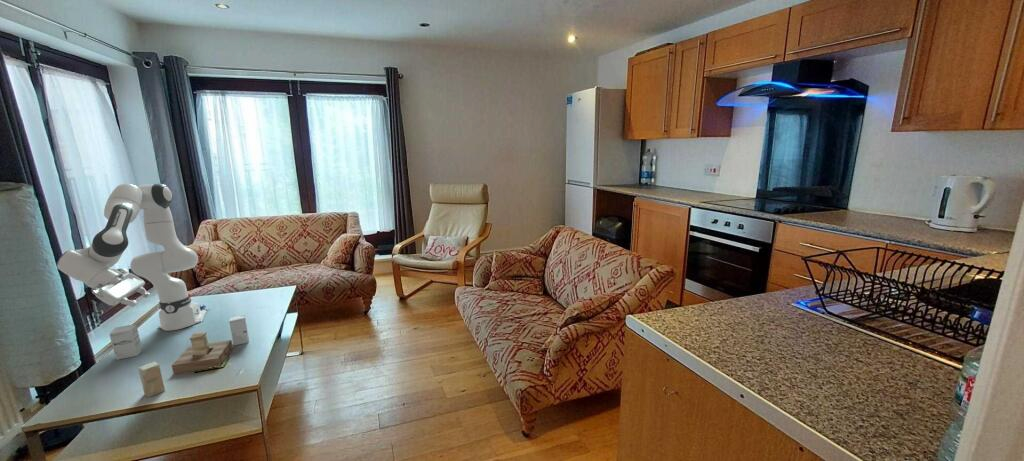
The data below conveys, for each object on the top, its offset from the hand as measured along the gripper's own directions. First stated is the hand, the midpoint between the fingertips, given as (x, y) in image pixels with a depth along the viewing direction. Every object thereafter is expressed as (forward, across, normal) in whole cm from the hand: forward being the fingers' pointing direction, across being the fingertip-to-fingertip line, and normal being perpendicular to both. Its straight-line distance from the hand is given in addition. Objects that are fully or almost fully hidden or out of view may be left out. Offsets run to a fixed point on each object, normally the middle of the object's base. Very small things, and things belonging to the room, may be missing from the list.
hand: (142, 300), depth 166 cm
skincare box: (+40, +9, 0) cm, 41 cm away
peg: (+33, -4, +8) cm, 34 cm away
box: (+27, -24, +14) cm, 39 cm away
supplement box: (+9, +14, +32) cm, 36 cm away
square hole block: (+33, -4, +7) cm, 34 cm away
